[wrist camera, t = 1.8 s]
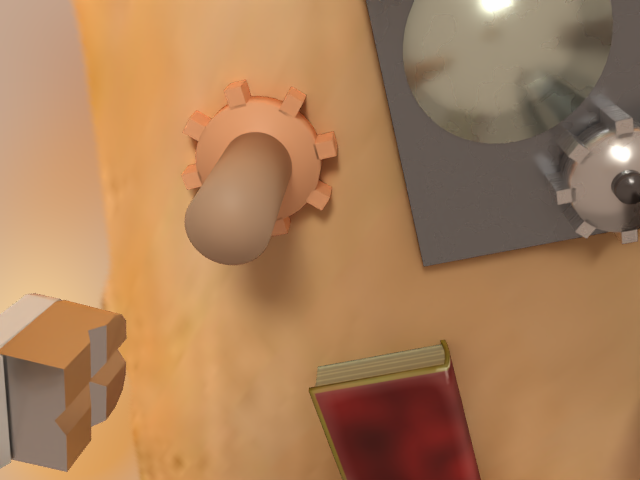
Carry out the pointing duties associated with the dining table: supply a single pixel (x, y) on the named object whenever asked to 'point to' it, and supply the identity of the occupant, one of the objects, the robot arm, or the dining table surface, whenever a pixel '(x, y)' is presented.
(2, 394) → the robot arm
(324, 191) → the gear
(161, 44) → the dining table surface
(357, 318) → the dining table surface
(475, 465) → the hardcover book
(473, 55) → the carrier plate
